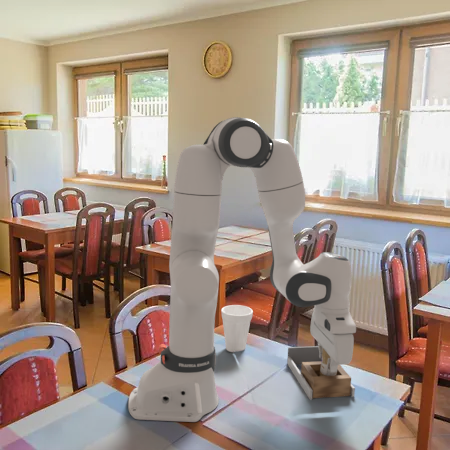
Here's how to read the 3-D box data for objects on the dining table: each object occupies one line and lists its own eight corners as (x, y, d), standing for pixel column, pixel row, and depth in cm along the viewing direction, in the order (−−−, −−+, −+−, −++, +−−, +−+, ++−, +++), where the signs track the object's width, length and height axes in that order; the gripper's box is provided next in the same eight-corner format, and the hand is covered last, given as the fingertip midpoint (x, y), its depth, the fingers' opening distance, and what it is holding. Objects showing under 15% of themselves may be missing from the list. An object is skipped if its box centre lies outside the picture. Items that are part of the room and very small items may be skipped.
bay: (309, 402, 123) (311, 380, 122) (287, 366, 142) (288, 347, 141) (354, 399, 125) (355, 378, 124) (325, 364, 144) (327, 345, 143)
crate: (312, 398, 123) (314, 380, 122) (300, 379, 133) (301, 362, 132) (349, 395, 125) (351, 378, 124) (335, 377, 135) (336, 360, 134)
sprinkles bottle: (316, 377, 131) (321, 333, 127) (333, 378, 131) (338, 333, 128) (320, 387, 127) (326, 341, 123) (337, 388, 127) (343, 342, 123)
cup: (255, 355, 149) (256, 315, 147) (223, 357, 147) (224, 316, 145) (246, 342, 159) (248, 304, 156) (217, 344, 156) (218, 305, 154)
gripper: (306, 301, 134) (303, 348, 137) (334, 330, 114) (330, 384, 117) (327, 301, 135) (324, 347, 138) (359, 329, 115) (355, 383, 118)
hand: (327, 364), depth 127 cm, fingers open, 5 cm apart
